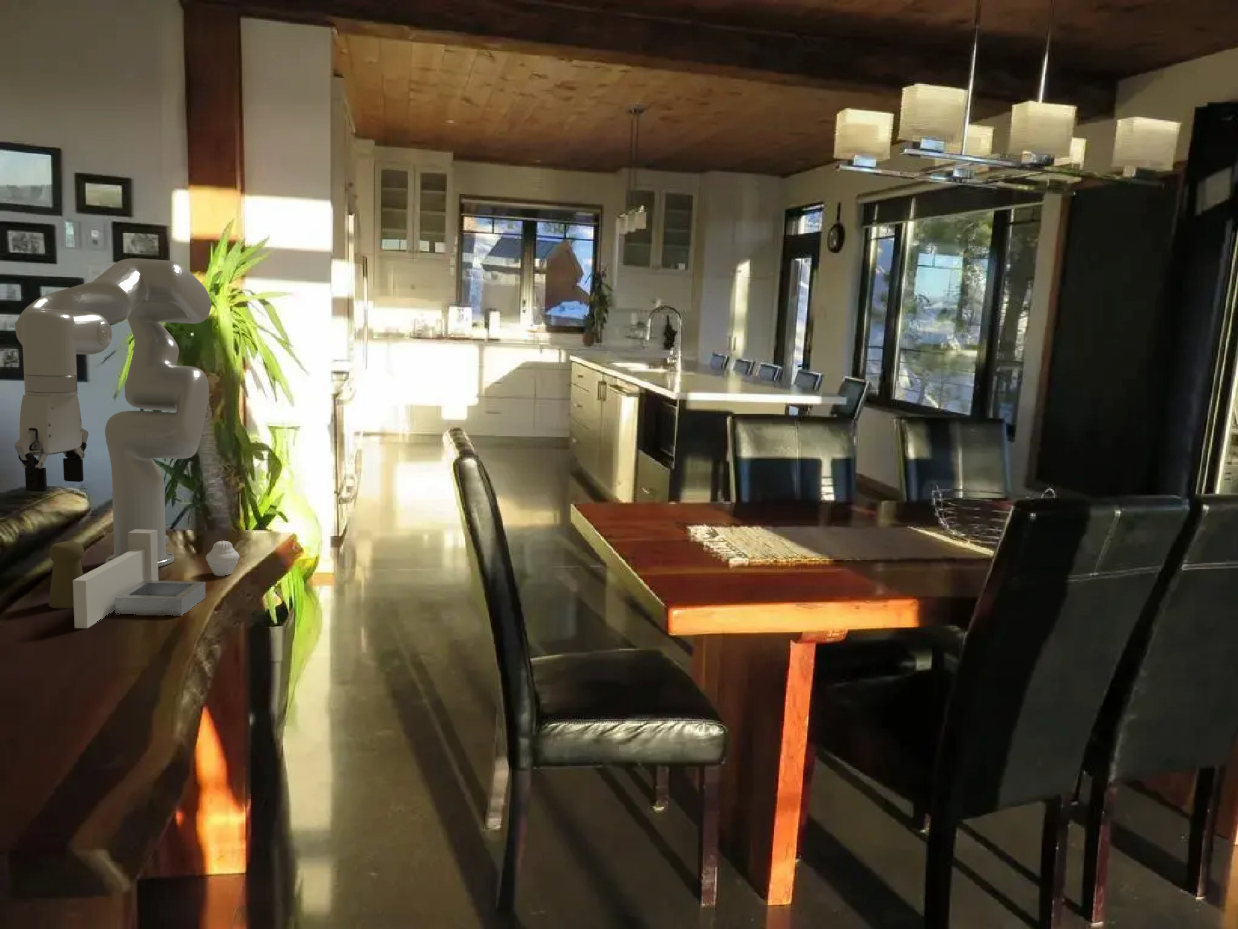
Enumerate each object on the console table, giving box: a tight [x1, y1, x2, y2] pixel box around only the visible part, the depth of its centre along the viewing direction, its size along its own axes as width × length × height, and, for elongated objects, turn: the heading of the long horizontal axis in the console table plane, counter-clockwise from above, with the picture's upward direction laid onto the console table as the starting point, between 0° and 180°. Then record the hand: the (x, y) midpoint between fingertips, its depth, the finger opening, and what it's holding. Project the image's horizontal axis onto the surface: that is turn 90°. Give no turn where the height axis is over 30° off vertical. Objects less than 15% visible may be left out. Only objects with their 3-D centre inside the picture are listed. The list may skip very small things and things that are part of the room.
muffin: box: [205, 540, 240, 577], centre depth 183 cm, size 6×6×7 cm
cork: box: [48, 540, 85, 609], centre depth 159 cm, size 6×6×11 cm
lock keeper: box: [114, 580, 206, 617], centre depth 161 cm, size 11×11×3 cm
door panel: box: [73, 529, 159, 629], centre depth 159 cm, size 25×4×11 cm, turn 5°
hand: (55, 486), depth 154 cm, fingers open, 9 cm apart
